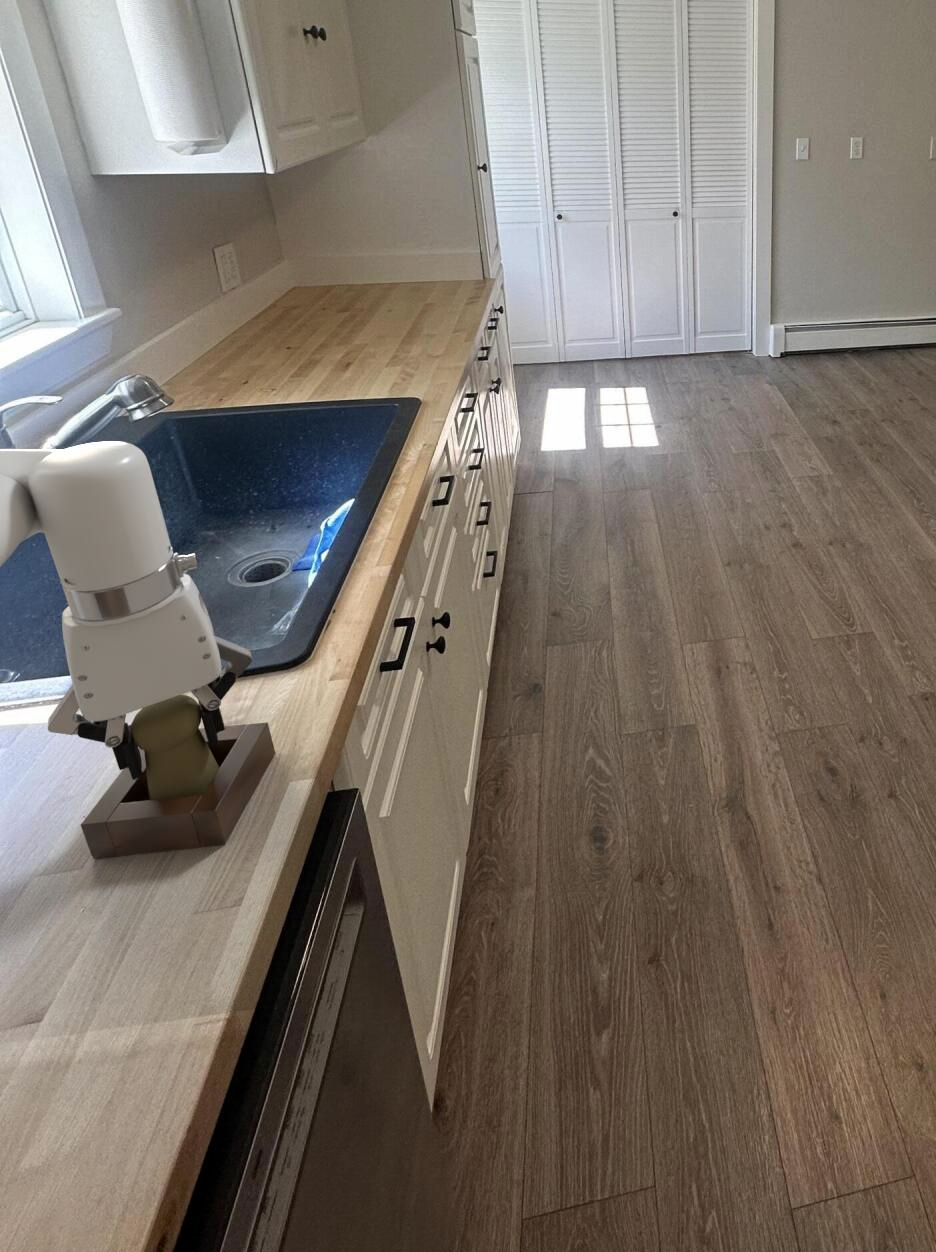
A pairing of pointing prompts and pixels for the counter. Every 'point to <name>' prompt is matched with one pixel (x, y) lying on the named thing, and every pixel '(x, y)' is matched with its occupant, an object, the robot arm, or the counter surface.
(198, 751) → the cork
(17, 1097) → the counter surface
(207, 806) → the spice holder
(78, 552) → the robot arm
